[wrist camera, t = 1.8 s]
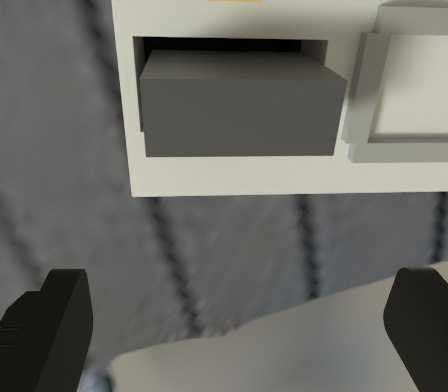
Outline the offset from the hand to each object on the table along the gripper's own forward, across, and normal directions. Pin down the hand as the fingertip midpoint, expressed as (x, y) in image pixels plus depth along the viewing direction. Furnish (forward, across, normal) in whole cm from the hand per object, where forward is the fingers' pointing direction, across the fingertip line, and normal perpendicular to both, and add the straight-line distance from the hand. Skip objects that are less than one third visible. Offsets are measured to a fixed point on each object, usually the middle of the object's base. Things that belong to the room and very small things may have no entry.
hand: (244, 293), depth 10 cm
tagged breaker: (+19, -1, -1) cm, 19 cm away
